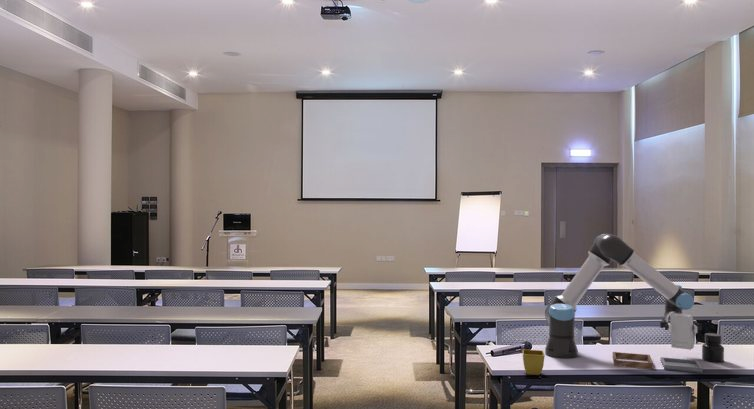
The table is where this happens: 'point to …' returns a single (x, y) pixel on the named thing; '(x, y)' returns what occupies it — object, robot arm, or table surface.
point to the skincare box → (682, 331)
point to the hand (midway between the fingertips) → (683, 329)
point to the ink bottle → (713, 348)
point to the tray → (681, 365)
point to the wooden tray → (632, 363)
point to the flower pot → (533, 361)
